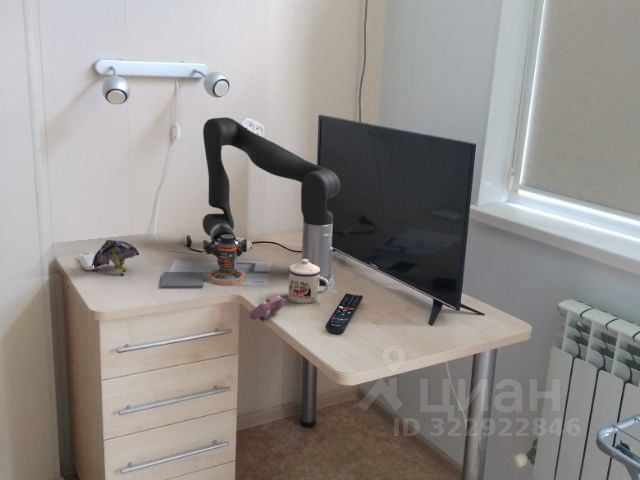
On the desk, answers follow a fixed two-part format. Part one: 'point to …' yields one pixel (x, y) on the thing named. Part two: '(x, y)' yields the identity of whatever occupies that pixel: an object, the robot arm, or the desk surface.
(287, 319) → the desk surface
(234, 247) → the supplement bottle
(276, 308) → the video game controller
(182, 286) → the grey mat
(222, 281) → the terracotta ring
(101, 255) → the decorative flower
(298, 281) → the teacup with lid
